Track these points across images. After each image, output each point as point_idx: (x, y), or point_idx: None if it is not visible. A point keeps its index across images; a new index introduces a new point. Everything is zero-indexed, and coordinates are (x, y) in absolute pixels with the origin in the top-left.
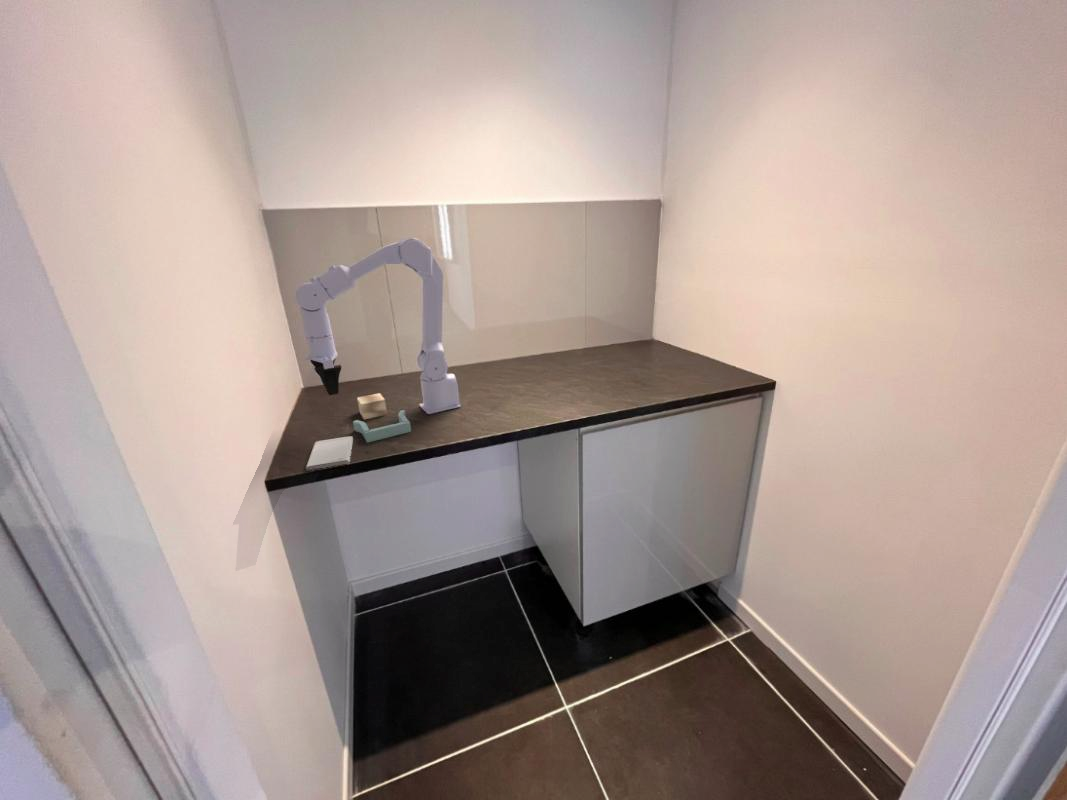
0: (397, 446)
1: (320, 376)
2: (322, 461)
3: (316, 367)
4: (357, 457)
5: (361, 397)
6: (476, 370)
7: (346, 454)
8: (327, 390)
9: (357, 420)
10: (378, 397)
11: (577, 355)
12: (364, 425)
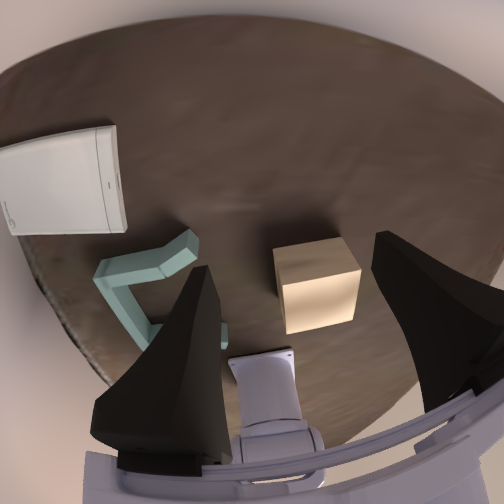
0: (81, 308)
1: (122, 377)
2: (3, 184)
3: (178, 442)
4: (38, 243)
5: (352, 281)
6: (392, 387)
7: (28, 230)
8: (183, 289)
9: (190, 259)
10: (317, 320)
11: (343, 436)
12: (142, 277)
